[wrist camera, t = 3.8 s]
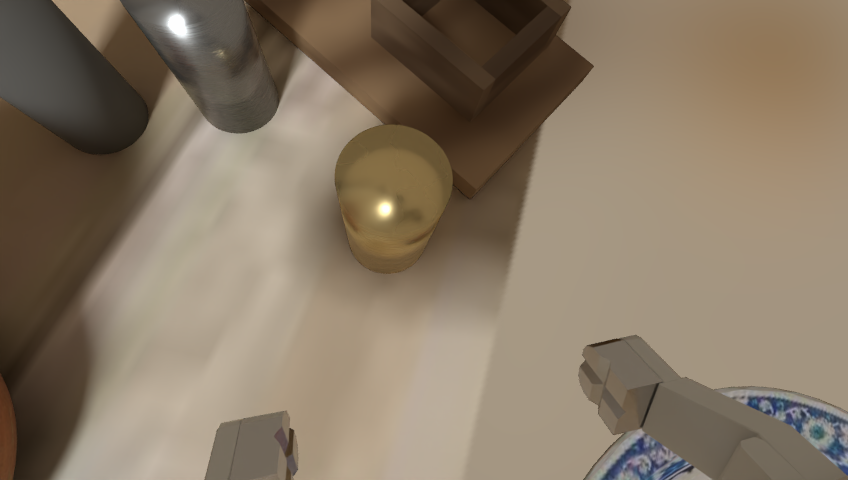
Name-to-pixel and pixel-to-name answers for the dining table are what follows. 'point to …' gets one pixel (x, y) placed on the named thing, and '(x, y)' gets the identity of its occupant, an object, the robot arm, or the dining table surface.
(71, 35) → the grey rounded cylinder
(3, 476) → the ceramic jug
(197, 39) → the dark steel roller
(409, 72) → the socket board
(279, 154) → the dining table surface
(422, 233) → the translucent yellow cylinder
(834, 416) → the ceramic plate
